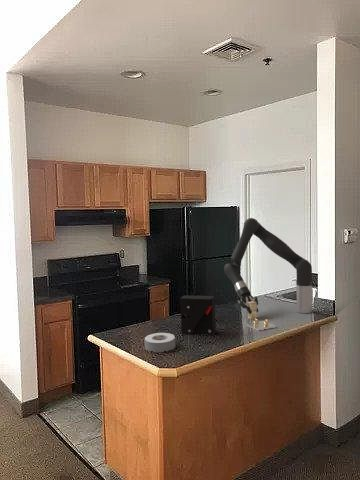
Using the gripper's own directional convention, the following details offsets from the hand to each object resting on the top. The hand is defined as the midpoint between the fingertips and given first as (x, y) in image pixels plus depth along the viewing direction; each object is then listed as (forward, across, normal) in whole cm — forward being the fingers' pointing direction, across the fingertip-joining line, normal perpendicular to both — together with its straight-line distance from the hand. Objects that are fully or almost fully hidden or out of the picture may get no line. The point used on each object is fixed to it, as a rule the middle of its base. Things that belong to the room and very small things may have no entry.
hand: (254, 312), depth 244 cm
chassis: (+13, -6, -8) cm, 16 cm away
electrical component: (+7, -40, 0) cm, 41 cm away
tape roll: (+14, -68, -7) cm, 70 cm away
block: (+2, 0, +4) cm, 5 cm away
